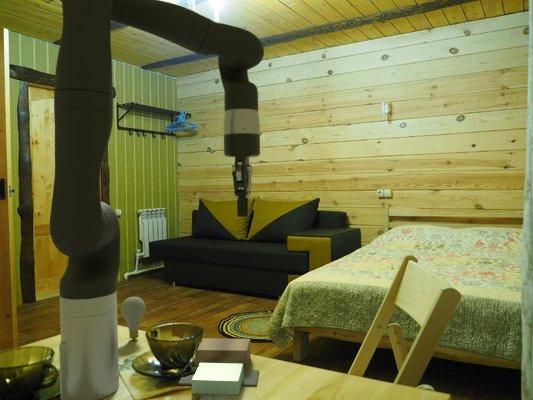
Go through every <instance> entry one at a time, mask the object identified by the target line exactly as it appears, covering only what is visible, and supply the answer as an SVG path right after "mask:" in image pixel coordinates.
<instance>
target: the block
mask: <svg viewBox="0 0 533 400" xmlns="http://www.w3.org/2000/svg"><path fill="white" fill-rule="evenodd" d="M242 380H243V364H235V363H199V366H198V368H197V370H196V372H195V374H194V376H193V378H192V385H191V394H193V395H194V394H195V395H197V394H199V395H221V396H223V395H225V396H226V395H227V396H239V395H240V392H241V388H242V386H241V384H242Z"/></svg>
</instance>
